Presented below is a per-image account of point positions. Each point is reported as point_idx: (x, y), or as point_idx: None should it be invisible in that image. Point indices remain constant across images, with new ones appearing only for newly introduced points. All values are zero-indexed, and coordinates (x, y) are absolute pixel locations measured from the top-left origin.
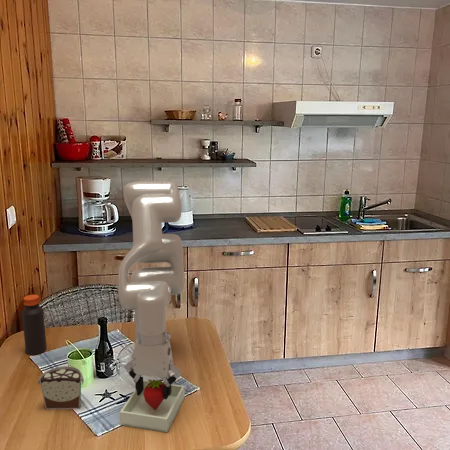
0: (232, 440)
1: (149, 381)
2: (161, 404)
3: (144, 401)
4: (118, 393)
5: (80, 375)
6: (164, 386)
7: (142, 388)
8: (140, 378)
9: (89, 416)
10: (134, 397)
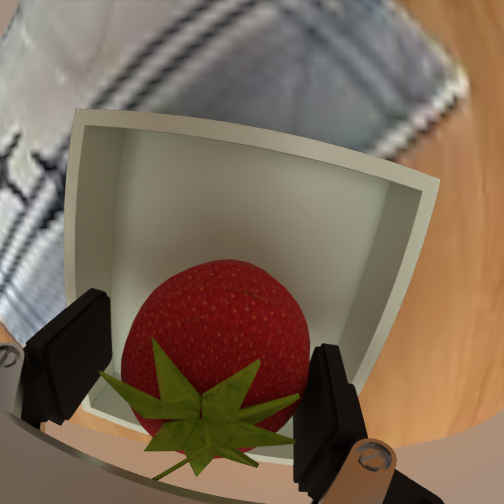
0: (499, 409)
1: (129, 116)
2: (263, 256)
3: (153, 228)
4: (27, 152)
5: None
6: (301, 488)
7: (100, 322)
8: (41, 399)
9: (6, 308)
10: (88, 275)
